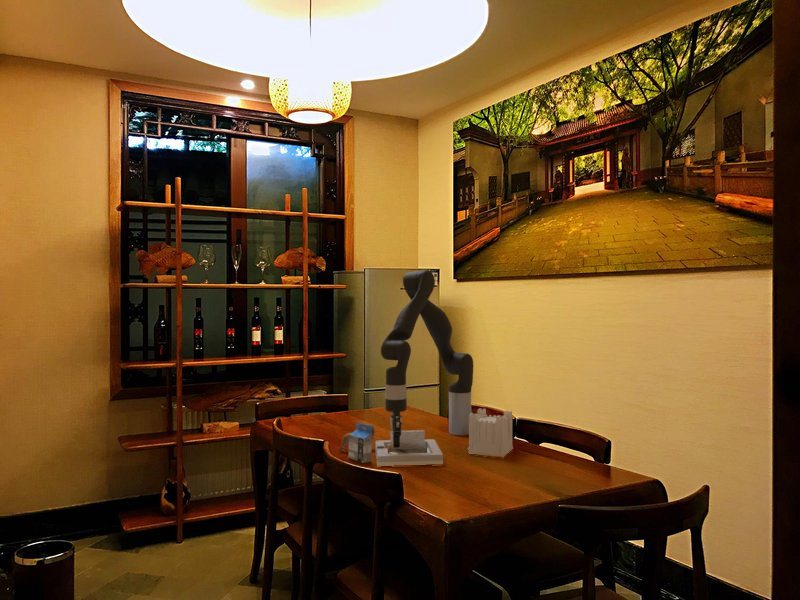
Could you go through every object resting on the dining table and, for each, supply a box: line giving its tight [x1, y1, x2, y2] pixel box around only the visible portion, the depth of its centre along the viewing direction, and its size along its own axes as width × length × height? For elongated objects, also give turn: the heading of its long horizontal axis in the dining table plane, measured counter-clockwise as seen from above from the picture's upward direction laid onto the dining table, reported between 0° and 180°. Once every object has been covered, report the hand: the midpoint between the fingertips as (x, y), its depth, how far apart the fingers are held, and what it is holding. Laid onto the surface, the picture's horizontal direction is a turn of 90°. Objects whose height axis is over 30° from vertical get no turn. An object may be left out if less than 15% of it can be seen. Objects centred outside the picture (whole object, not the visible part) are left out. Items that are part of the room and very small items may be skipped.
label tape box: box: [348, 421, 373, 464], centre depth 208 cm, size 9×4×12 cm, turn 40°
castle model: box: [467, 408, 514, 457], centre depth 218 cm, size 13×15×14 cm
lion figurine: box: [338, 424, 376, 453], centre depth 221 cm, size 15×5×9 cm, turn 121°
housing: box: [374, 438, 444, 468], centre depth 211 cm, size 22×22×4 cm
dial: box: [387, 429, 427, 454], centre depth 211 cm, size 14×14×8 cm
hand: (396, 446), depth 211 cm, fingers closed on dial, 2 cm apart
